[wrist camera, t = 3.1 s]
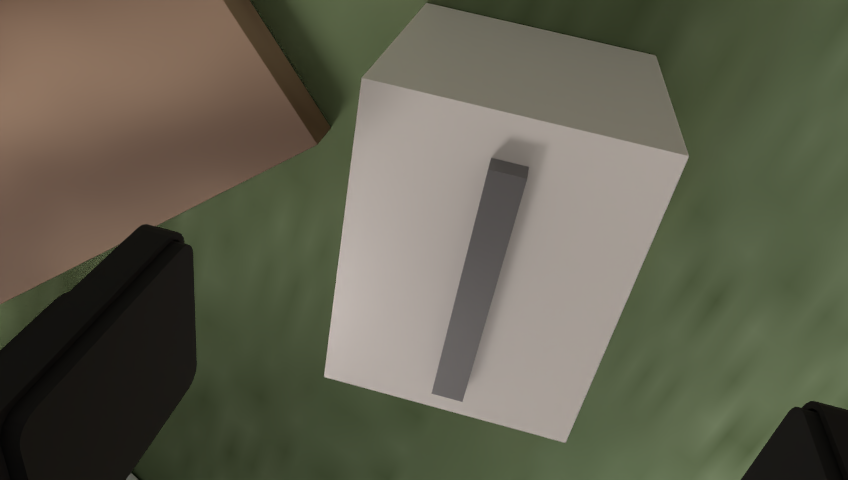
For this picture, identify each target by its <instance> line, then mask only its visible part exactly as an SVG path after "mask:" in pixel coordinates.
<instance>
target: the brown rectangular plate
mask: <svg viewBox="0 0 848 480" xmlns="http://www.w3.org/2000/svg"><path fill="white" fill-rule="evenodd" d="M330 128H331V127H330V126H329V124H328V122H327V121H326V119H325V118H324V116H323V115H322V113H321V111H320V110H319V108H318V107H317V105H316V104H315V102H314V100H313V99H312V97H311V96H310V94H309V93H308V91H307V90H306V88H305V86H304V85H303V83H302V82H301V80H300V79H299V77H298V75H297V74H296V72H295V71H294V69H293V68H292V66H291V64H290V63H289V61H288V60H287V58H286V57H285V55H284V53H283V52H282V50H281V49H280V47H279V46H278V44H277V42H276V41H275V39H274V38H273V36H272V35H271V33H270V31H269V30H268V28H267V27H266V25H265V24H264V22H263V21H262V19H261V17H260V16H259V14H258V13H257V11H256V10H255V8H254V6H253V5H252V3H251V2H250V0H0V304H2V303H4V302H6V301H8V300H10V299H12V298H14V297H16V296H18V295H20V294H22V293H24V292H26V291H28V290H30V289H32V288H34V287H36V286H38V285H40V284H42V283H44V282H46V281H48V280H50V279H51V278H53V277H55V276H57V275H59V274H61V273H63V272H65V271H67V270H69V269H71V268H73V267H75V266H77V265H79V264H81V263H83V262H85V261H87V260H89V259H91V258H93V257H95V256H97V255H99V254H101V253H103V252H105V251H107V250H109V249H111V248H113V247H115V246H117V245H119V244H121V243H122V242H123V241H124V240H125V239H126V238H127V237H128V236H129V235H130V234H131V233H133V232H134V231H135V230H136V229H137V228H138V227H140V226H141V225H144V224H148V225H152V226H157V225H159V224H161V223H163V222H165V221H167V220H169V219H171V218H173V217H175V216H177V215H179V214H181V213H183V212H184V211H186V210H188V209H190V208H192V207H194V206H196V205H198V204H200V203H202V202H204V201H206V200H208V199H210V198H212V197H214V196H216V195H218V194H220V193H222V192H224V191H226V190H228V189H230V188H232V187H234V186H236V185H238V184H240V183H242V182H244V181H246V180H248V179H250V178H252V177H254V176H256V175H258V174H260V173H262V172H264V171H266V170H268V169H270V168H272V167H274V166H276V165H278V164H280V163H282V162H284V161H286V160H288V159H290V158H292V157H294V156H296V155H298V154H300V153H302V152H304V151H306V150H308V149H310V148H312V147H314V146H316V145H317V144H318V143H319V142H320V141H321V139H322V138H323V137H324V136H325V135H326V133H327V132H328V131H329V130H330Z"/></svg>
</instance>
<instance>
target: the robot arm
mask: <svg viewBox="0 0 848 480" xmlns="http://www.w3.org/2000/svg"><path fill="white" fill-rule="evenodd" d="M196 365H197V361H196V331H195V300H194V270H193V250H192V247H191V246H190V245H188V244H184V238H183V236H182V234H180V233H178V232H175V231H171V230H167V229H163V228H160V227H156V226H152V225H148V224H144V225H141V226H140V227H138V228H137V229H136V230H135V231H134V232H133V233H131V234H130V235H129V236H128V237H127V238H126V239H125V240H124V241H123V242H122V243H121V244H120V245H119V246H118V247H117V248H116V249H114V250H113V251H112V252H111V253H110V254H109V255H108V256H107V257H106V258H105V259H104V260H103V261H102V262H101V263H100V264H98V265H97V266H96V267H95V268H94V269H93V270H92V271H91V272H90V273H89V274H88V275H87V276H86V277H85V278H84V279H83V280H81V281H80V282H79V283H78V284H77V285H76V286H75V287H74V288H73V289H72V290H71V291H70V292H67V293H64V294H62V295H61V296H60V297H58V298H57V299H55V300H54V301H53V302H52V303H51V304H50V305H49V306H48V307H47V308H46V309H45V310H43V311H42V312H41V313H40V314H39V315H38V316H37V317H36V318H35V319H34V320H33V321H32V322H31V323H29V324H28V325H27V326H26V327H25V328H24V329H23V330H22V331H21V332H20V333H19V334H18V335H17V336H15V337H14V338H13V339H12V340H11V341H10V342H9V343H8V344H7V345H6V346H5V347H4V348H3V349H1V350H0V480H126V479H127V478H128V476H129V475H130V473H131V472H132V470H133V469H134V467H135V466H136V464H137V463H138V462H139V460H140V459H141V457H142V456H143V454H144V453H145V451H146V450H147V448H148V447H149V445H150V444H151V443H152V441H153V440H154V438H155V437H156V435H157V434H158V432H159V431H160V429H161V428H162V427H163V425H164V424H165V422H166V421H167V419H168V418H169V416H170V415H171V413H172V412H173V410H174V409H175V408H176V406H177V405H178V403H179V402H180V400H181V399H182V397H183V396H184V394H185V393H186V392H187V390H188V389H189V387H190V385H191V383H192V381H193V379H194V376H195V372H196ZM741 480H848V410H846V409H842V408H838V407H834V406H830V405H827V404H823V403H819V402H815V401H810V402H808V403H806V404H805V405H804V406H803V407H802V408H799V407H794V408H792V409H791V410H790V411H789V412H788V414H787V415H786V416H785V418H784V419H783V421H782V422H781V423H780V425H779V426H778V428H777V429H776V431H775V432H774V433H773V435H772V436H771V438H770V439H769V441H768V442H767V443H766V445H765V446H764V448H763V449H762V450H761V452H760V453H759V455H758V456H757V458H756V459H755V460H754V462H753V463H752V465H751V466H750V468H749V469H748V470H747V472H746V473H745V475H744V476H743V478H742V479H741Z"/></svg>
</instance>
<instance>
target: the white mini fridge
mask: <svg viewBox="0 0 848 480" xmlns="http://www.w3.org/2000/svg"><path fill="white" fill-rule="evenodd" d="M688 157H689V155H688V151H687V148H686V145H685V142H684V139H683V136H682V133H681V130H680V127H679V124H678V121H677V118H676V115H675V112H674V109H673V106H672V103H671V100H670V97H669V94H668V91H667V88H666V85H665V82H664V79H663V76H662V73H661V70H660V66H659V63H658V60H657V57H656V55H652V54H647V53H643V52H639V51H634V50H630V49H626V48H621V47H617V46H613V45H608V44H604V43H599V42H595V41H591V40H586V39H582V38H578V37H573V36H569V35H565V34H560V33H556V32H552V31H547V30H543V29H539V28H534V27H530V26H526V25H521V24H517V23H512V22H508V21H504V20H499V19H495V18H491V17H486V16H482V15H478V14H473V13H469V12H465V11H460V10H456V9H452V8H447V7H443V6H438V5H434V4H430V3H426V4H425V5H424V6H423V7H422V8H421V9H420V11H419V12H418V13H417V14H416V15H415V16H414V17H413V19H412V20H411V21H410V22H409V23H408V24H407V26H406V27H405V28H404V29H403V30H402V31H401V33H400V34H399V35H398V36H397V37H396V38H395V40H394V41H393V42H392V43H391V44H390V45H389V47H388V48H387V49H386V50H385V51H384V52H383V54H382V55H381V56H380V57H379V58H378V59H377V60H376V62H375V63H374V64H373V65H372V66H371V67H370V69H369V70H368V71H367V72H366V73H365V74H364V76H363V77H362V79H361V87H360V95H359V103H358V111H357V119H356V127H355V135H354V142H353V150H352V158H351V166H350V174H349V182H348V190H347V198H346V206H345V214H344V222H343V230H342V238H341V245H340V253H339V261H338V269H337V277H336V285H335V293H334V301H333V309H332V317H331V325H330V333H329V341H328V348H327V356H326V364H325V372H324V377H326V378H330V379H334V380H337V381H341V382H345V383H348V384H352V385H355V386H359V387H363V388H366V389H370V390H374V391H377V392H381V393H385V394H388V395H392V396H396V397H399V398H403V399H407V400H410V401H414V402H418V403H421V404H425V405H429V406H432V407H436V408H440V409H443V410H447V411H451V412H454V413H458V414H462V415H465V416H469V417H473V418H476V419H480V420H484V421H487V422H491V423H495V424H498V425H502V426H506V427H509V428H513V429H517V430H520V431H524V432H528V433H531V434H535V435H538V436H542V437H546V438H549V439H553V440H557V441H560V442H564V443H566V441H567V438H568V436H569V434H570V431H571V429H572V427H573V424H574V422H575V420H576V417H577V415H578V413H579V410H580V408H581V406H582V404H583V401H584V399H585V397H586V394H587V392H588V390H589V387H590V385H591V383H592V380H593V378H594V376H595V373H596V371H597V369H598V366H599V364H600V362H601V359H602V357H603V355H604V352H605V350H606V348H607V345H608V343H609V341H610V338H611V336H612V334H613V332H614V329H615V327H616V325H617V322H618V320H619V318H620V315H621V313H622V311H623V308H624V306H625V304H626V301H627V299H628V297H629V294H630V292H631V290H632V287H633V285H634V283H635V280H636V278H637V276H638V273H639V271H640V269H641V267H642V264H643V262H644V260H645V257H646V255H647V253H648V250H649V248H650V246H651V243H652V241H653V239H654V236H655V234H656V232H657V229H658V227H659V225H660V222H661V220H662V218H663V215H664V213H665V211H666V208H667V206H668V204H669V202H670V199H671V197H672V195H673V192H674V190H675V188H676V185H677V183H678V181H679V178H680V176H681V174H682V171H683V169H684V167H685V164H686V162H687V160H688Z"/></svg>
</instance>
